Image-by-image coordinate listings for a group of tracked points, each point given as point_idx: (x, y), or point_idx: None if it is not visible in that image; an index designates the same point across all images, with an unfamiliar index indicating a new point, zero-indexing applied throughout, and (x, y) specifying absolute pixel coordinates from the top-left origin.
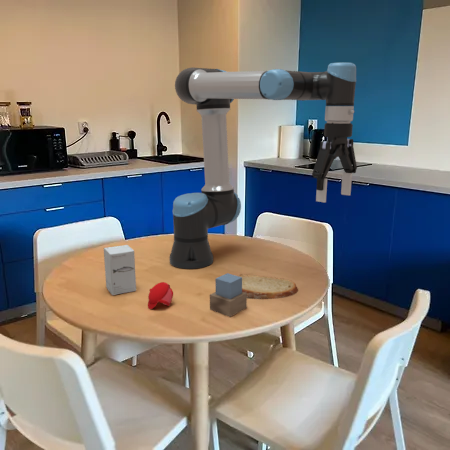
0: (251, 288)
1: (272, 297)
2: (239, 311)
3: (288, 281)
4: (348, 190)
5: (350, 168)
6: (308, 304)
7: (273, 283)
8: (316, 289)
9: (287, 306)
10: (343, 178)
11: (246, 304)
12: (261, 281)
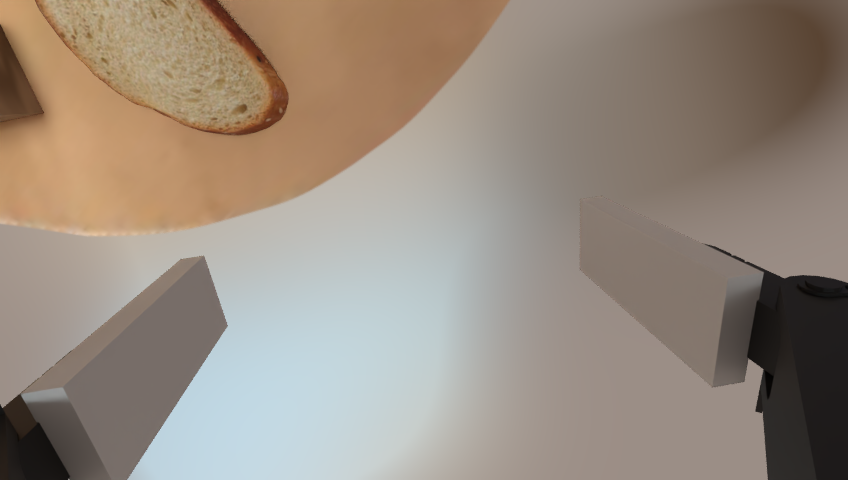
0: (101, 35)
1: (161, 112)
2: (6, 120)
3: (256, 84)
4: (600, 276)
5: (765, 436)
6: (234, 210)
7: (206, 52)
8: (334, 152)
9: (170, 183)
10: (672, 263)
11: (33, 113)
12: (170, 10)
